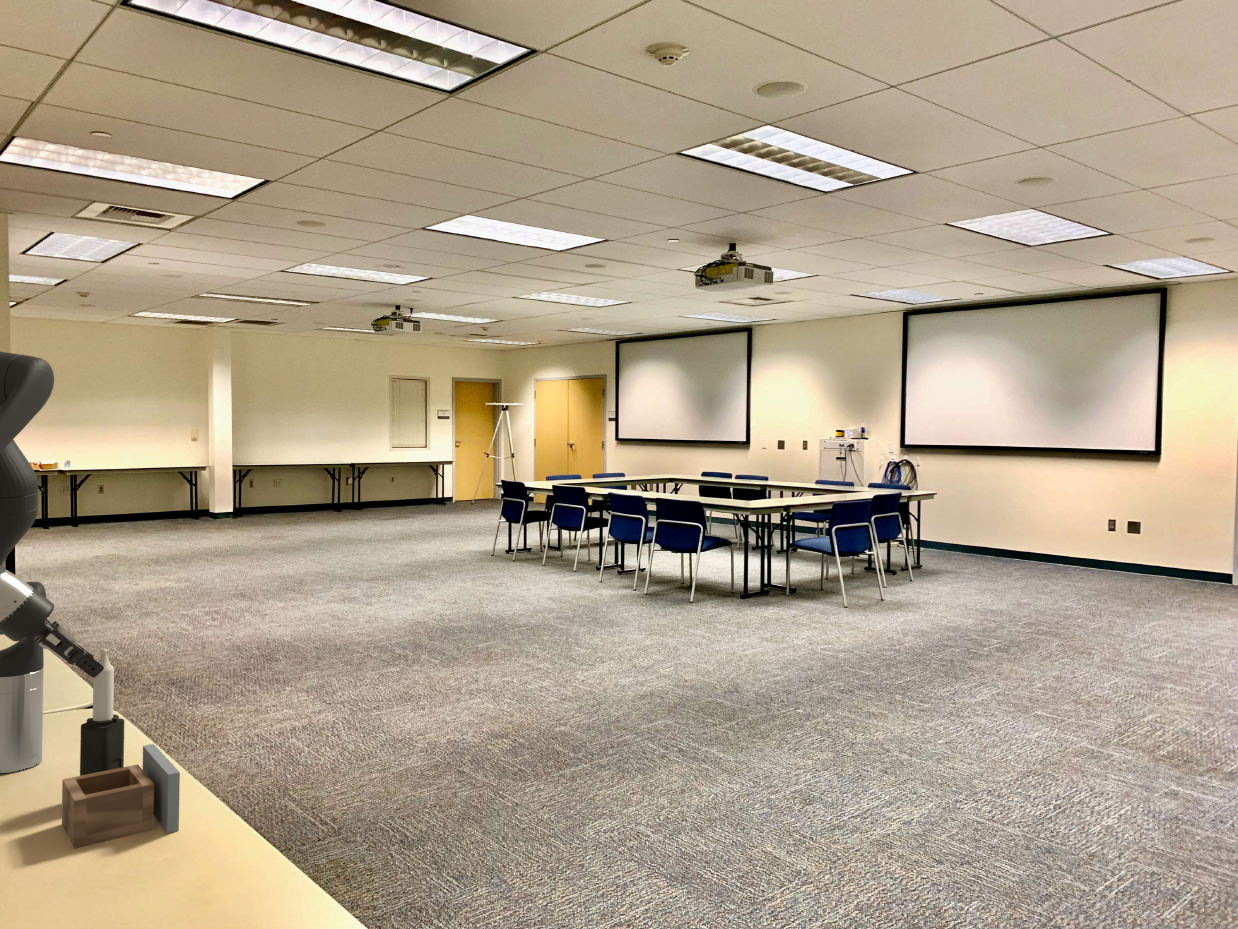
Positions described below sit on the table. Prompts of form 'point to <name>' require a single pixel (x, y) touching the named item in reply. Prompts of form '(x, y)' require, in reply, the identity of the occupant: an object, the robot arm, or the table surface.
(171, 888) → the table surface
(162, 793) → the backstop wall
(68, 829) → the socket block
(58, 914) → the table surface
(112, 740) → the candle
